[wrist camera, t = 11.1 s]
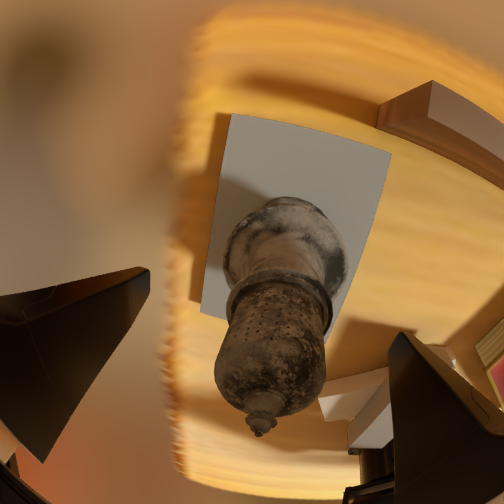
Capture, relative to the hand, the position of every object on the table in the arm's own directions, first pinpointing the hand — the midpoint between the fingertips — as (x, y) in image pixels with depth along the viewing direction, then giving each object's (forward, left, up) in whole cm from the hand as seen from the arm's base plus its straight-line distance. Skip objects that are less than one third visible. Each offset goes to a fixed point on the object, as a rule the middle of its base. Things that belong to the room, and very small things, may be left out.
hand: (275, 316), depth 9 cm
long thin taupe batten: (+8, -11, -9) cm, 17 cm away
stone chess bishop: (0, 0, -8) cm, 8 cm away
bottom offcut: (-10, -12, -9) cm, 18 cm away
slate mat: (0, 0, -9) cm, 9 cm away
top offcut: (-10, -12, -7) cm, 17 cm away
